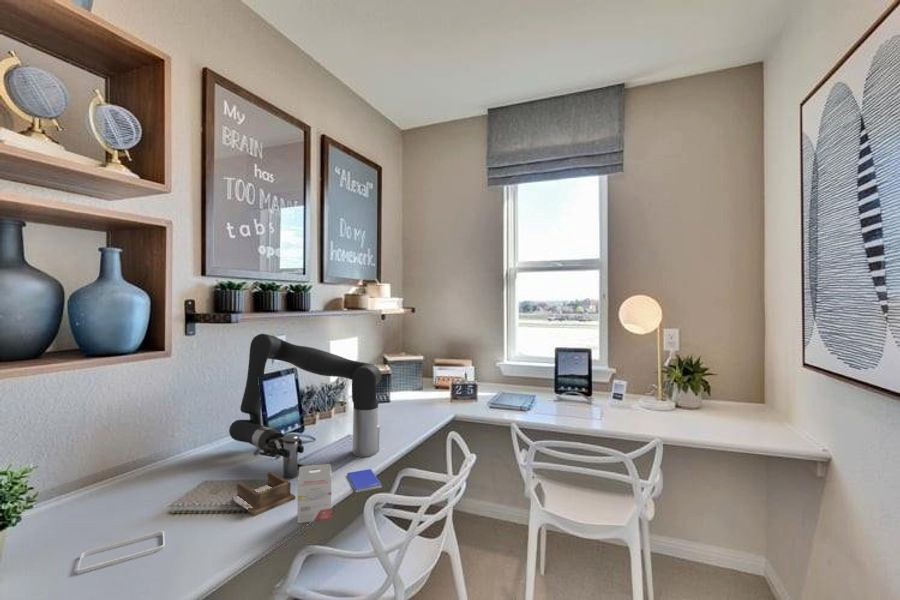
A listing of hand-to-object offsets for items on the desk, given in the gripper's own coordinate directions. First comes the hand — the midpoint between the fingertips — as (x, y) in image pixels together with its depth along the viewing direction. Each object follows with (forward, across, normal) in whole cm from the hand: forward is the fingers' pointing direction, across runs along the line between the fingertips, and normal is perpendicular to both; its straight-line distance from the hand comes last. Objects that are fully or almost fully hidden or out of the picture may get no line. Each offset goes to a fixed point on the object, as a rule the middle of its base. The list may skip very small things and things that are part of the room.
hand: (295, 452), depth 129 cm
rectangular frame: (+4, -45, +9) cm, 46 cm away
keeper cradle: (+5, -13, +8) cm, 16 cm away
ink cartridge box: (+24, -9, +9) cm, 27 cm away
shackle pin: (-3, 0, +8) cm, 9 cm away
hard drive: (+18, +13, +9) cm, 24 cm away
